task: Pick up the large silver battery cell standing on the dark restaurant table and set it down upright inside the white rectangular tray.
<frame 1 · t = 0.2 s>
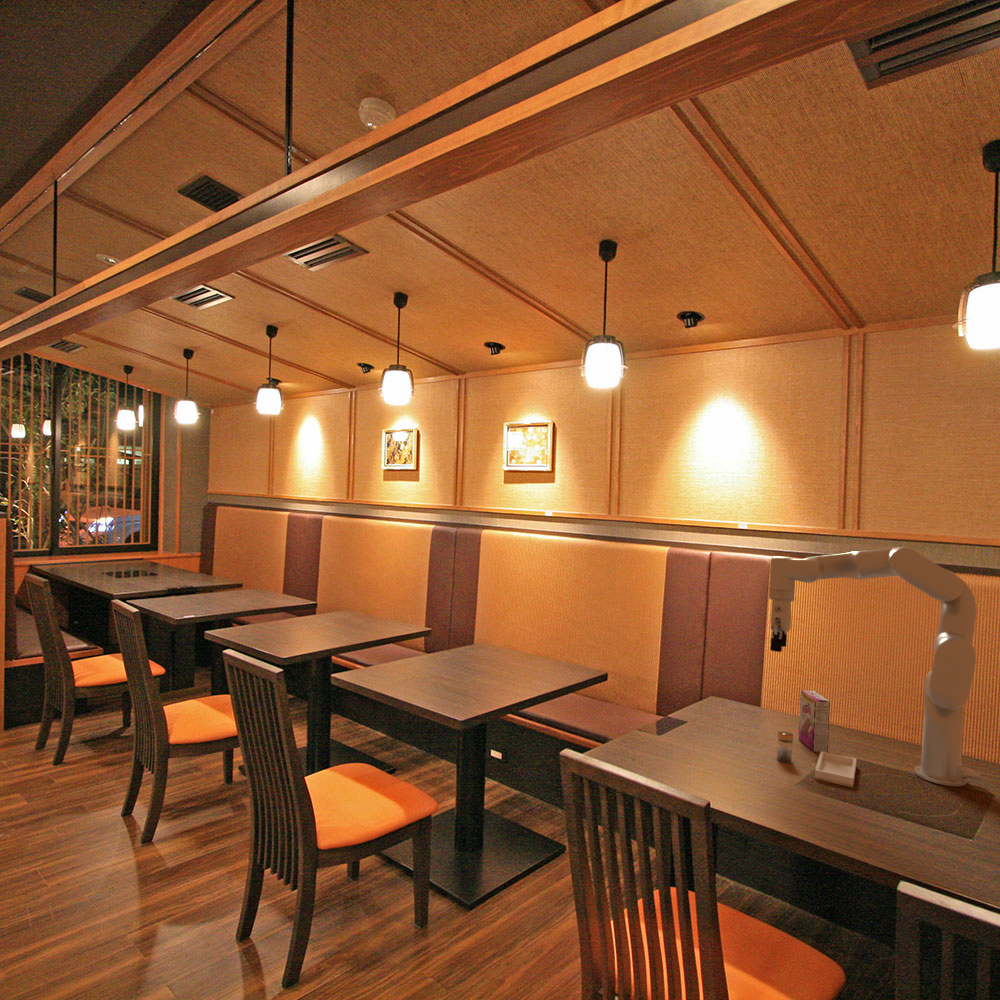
hand: (778, 648, 217), 31 cm above the table, tool pointing down, fingers open, 9 cm apart
candy bar box: (812, 746, 217), on the table
white rectangular tray: (835, 772, 195), on the table
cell: (784, 760, 203), on the table
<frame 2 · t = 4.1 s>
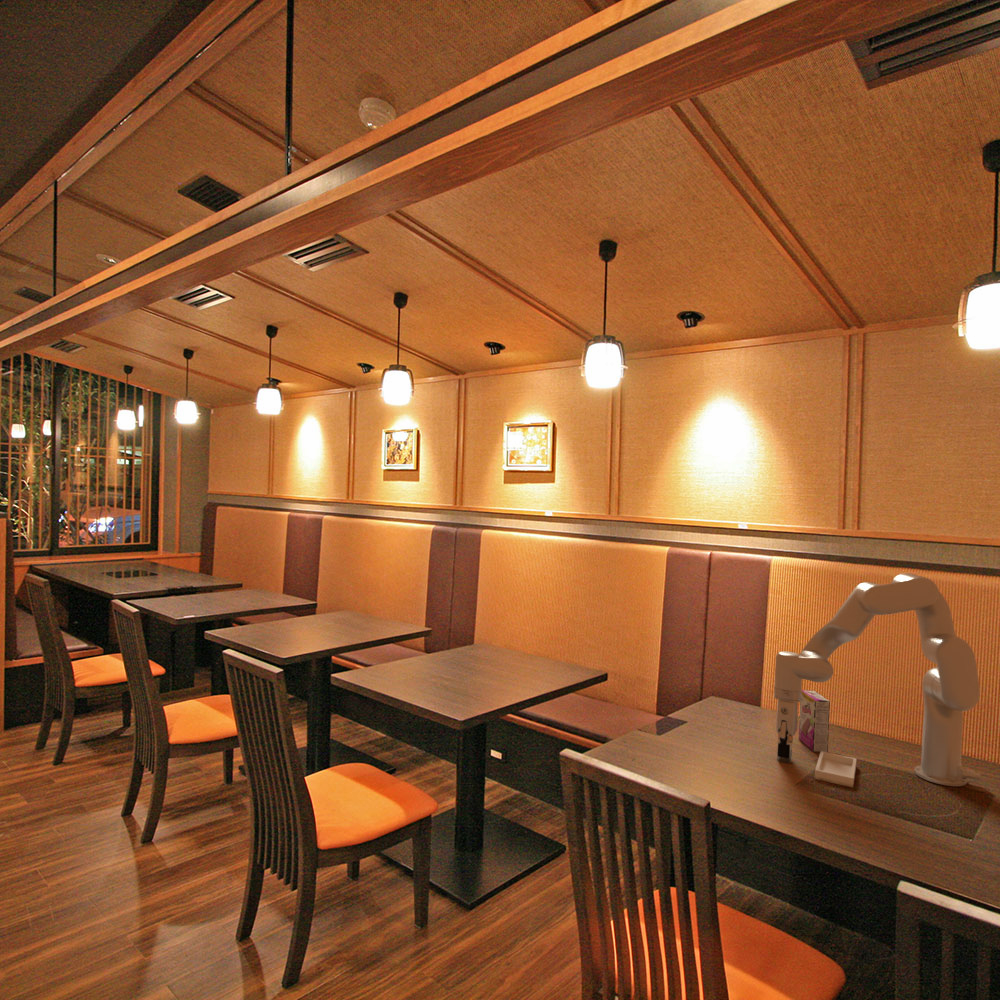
hand: (784, 754, 203), 2 cm above the table, tool pointing down, fingers closed on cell, 4 cm apart
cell: (784, 760, 203), on the table, touching gripper
everything else where it was.
when the fingers open (3 cm above the table, at t = 11.1 s): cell stays where it is, resting on white rectangular tray.
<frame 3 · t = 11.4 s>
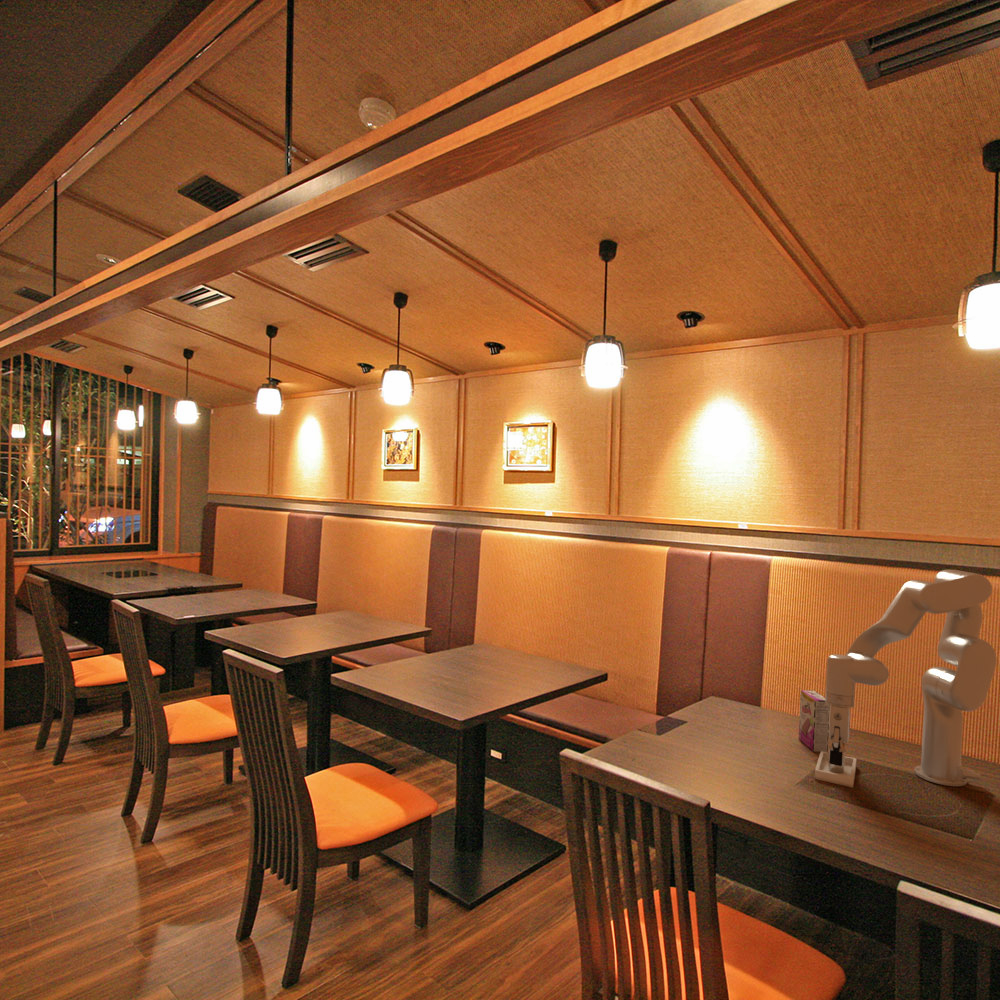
hand: (836, 760, 195), 4 cm above the table, tool pointing down, fingers open, 6 cm apart
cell: (836, 770, 195), point 1 cm above the table, touching white rectangular tray
everything else where it was.
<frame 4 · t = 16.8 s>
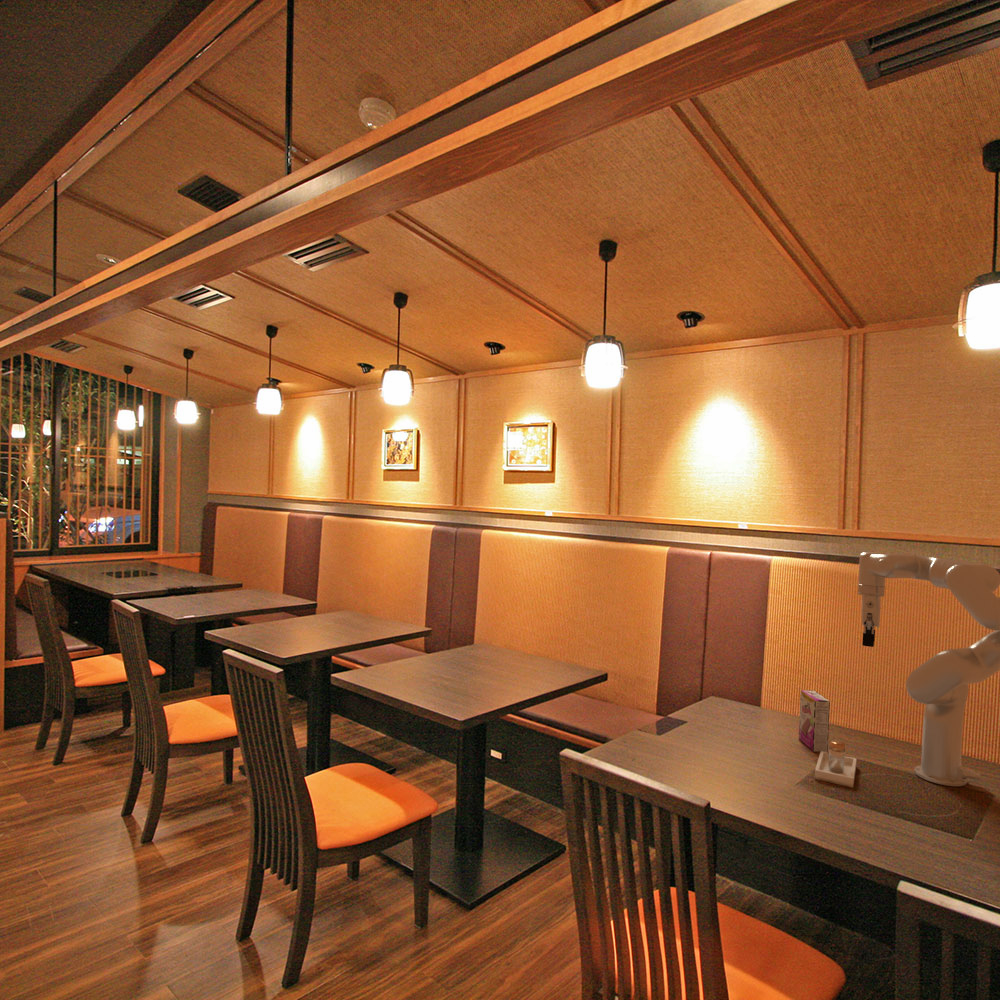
hand: (868, 643, 218), 33 cm above the table, tool pointing down, fingers open, 9 cm apart
nothing on the table moved.
at the end: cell inside the target area on the white rectangular tray (0.0 cm from its centre), point 0.6 cm above the white rectangular tray's base; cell tilted 1°; the gripper is holding nothing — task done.
